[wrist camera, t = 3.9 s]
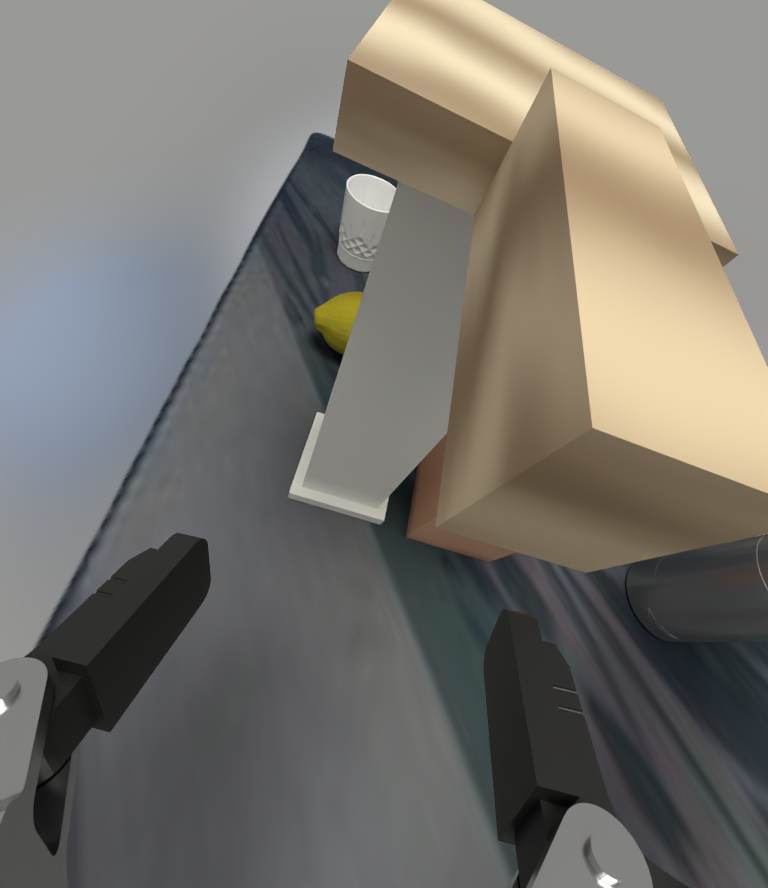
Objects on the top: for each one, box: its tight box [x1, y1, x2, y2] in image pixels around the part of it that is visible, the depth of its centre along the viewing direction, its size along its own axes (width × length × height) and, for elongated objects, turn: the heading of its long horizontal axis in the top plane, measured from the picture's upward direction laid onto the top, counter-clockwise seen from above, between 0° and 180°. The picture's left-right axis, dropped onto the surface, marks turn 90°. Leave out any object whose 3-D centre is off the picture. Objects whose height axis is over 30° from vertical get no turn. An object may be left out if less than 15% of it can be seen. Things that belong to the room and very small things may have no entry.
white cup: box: [337, 174, 396, 272], centre depth 55 cm, size 8×8×10 cm
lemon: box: [314, 292, 363, 355], centre depth 47 cm, size 11×8×8 cm
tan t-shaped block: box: [333, 0, 768, 573], centre depth 11 cm, size 22×12×4 cm, turn 169°
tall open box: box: [406, 434, 516, 562], centre depth 34 cm, size 10×10×24 cm
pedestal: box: [288, 181, 474, 525], centre depth 28 cm, size 10×10×32 cm
